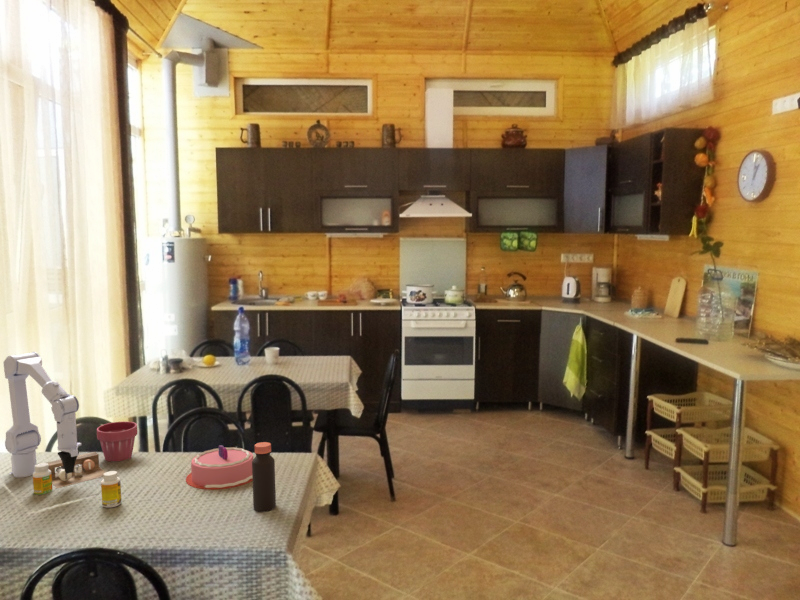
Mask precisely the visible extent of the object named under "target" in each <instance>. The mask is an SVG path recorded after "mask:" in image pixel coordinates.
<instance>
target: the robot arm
mask: <svg viewBox="0 0 800 600" xmlns="http://www.w3.org/2000/svg"><path fill="white" fill-rule="evenodd" d="M3 370H4V378H5V379H7V383H8V392H9V399H10V408H11V416H12V417H11V418H12V426H11V427H9V429H7V430H6V432H5V440H4V446H5V449H6V451H7V452H8V453H9V454H11V456H10V459H11V460H10V461H11V472H9V473H8V475H13V477H14V478H25V477H29V476H33V473H34V472H35V465H37V464H38V463H37V450H38V449H39V446H40V445H41V443H42V442H41V441H42V436H41V434H40V431H39V426H37V425H36V424H34V423H32V422H31V418H30V409H29V408H30V407H29V399H28V392H27V382H26V380H27V378H28V377H29V376H30V377H31V378H32V380H34V381H35V382H36V383H37V384H38V385H39V386H40V387H41V394H42V395H43V396H44V398H45V399H46V400H47V401H48V402H49V404H50V405H51V412H52V414H53V416H54V417H53V418H54V421H55V422H56V433H57V451H58V452H57V456H59V458H60V460H62V463H63V466H64V470H65V472H66V473H67V474H68V473H72V472H73V471H74V466H75V462H76V459H77V456H79V455H80V452H79V450H78V448H79V447H81V446H82V442H78V434H77V433H78V432H77V418H76V412H78V411H79V408H80V403H79V400H78V398H77V396H75V395H73V394H71V393H67V391H66V390H65V389H64V388H63V387H62V386H61V384H60V383H59V382H58V381H55V380H52V379H51V377H50V376H49V375H48V373H47V372H46V370H45V369H44V367H43V359H42V357H41V355H40V354H39V353H38V352H37V351H31V352H29V353H28V352H27V353H26V352H25V353H20V354H15V355H8V356H6V358H5V359H4V360H3Z"/></svg>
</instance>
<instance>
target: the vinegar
mask: <svg viewBox="0 0 800 600" xmlns="http://www.w3.org/2000/svg"><path fill="white" fill-rule="evenodd" d="M271 453H272V443H271V442H267V441H263V442H262V441H261V442H257V443H256V444H254V454H255V457H253V461H252V479H253V481H252V500H253V501H252V502H253V504H252V505H253V506H252V507H253V510H254V511H256V512H259V513H265V512H270V511H273V510H274V509H275V508H276V506H277V499H276V492H277V491H276V466H275V465H276V464H275V463H276V462H275V458H274V457H273V456H272V455H271Z"/></svg>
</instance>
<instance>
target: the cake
mask: <svg viewBox="0 0 800 600" xmlns="http://www.w3.org/2000/svg"><path fill="white" fill-rule="evenodd" d="M253 459H254V454H253V453H252V452H251V451H249V450H247V449H243V448H241V447H234V446H233V447H231V446H230V447H224V445H222V444H221V445H218V448H213V449H208V450H204V451H203V452H201V453H199V454H197V455H195V456H194V457H193V458H192V459H191V463H190V468H191V469H190V470H191V472H190V473H188V474H187V476H186V477H185V483H186V484H187V485H188V486H190V487H192V488H195V489H199V490H226V489H231V488H237V487H240V486H244V485H246V484H249V483H251V482H253V479H252V461H253Z"/></svg>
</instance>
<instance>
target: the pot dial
mask: <svg viewBox="0 0 800 600" xmlns="http://www.w3.org/2000/svg"><path fill="white" fill-rule="evenodd" d="M82 476H83V473H82V465H81V464H78V465H75V466H74V478H81V477H82Z"/></svg>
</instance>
